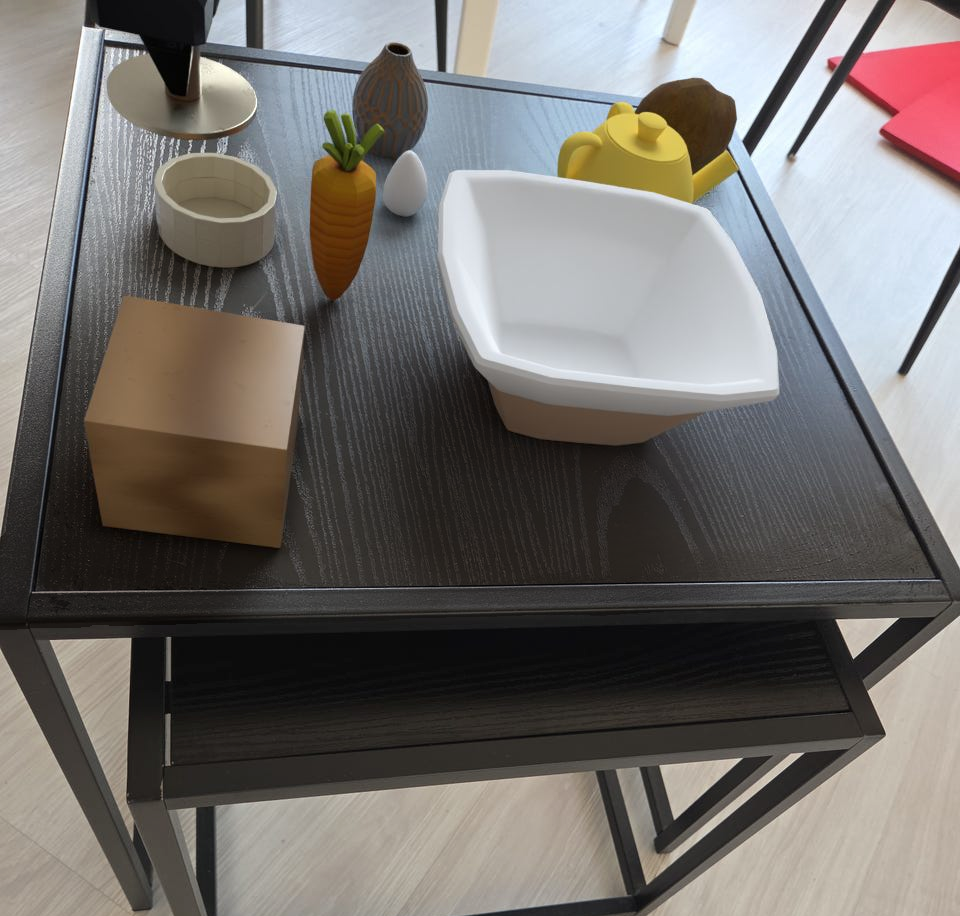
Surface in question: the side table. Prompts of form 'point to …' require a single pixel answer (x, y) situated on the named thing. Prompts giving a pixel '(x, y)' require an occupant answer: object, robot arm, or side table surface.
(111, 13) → the robot arm
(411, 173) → the egg
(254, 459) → the stand
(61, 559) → the side table surface
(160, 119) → the lid
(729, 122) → the potato
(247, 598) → the side table surface
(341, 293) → the carrot
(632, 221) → the bowl
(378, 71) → the vase
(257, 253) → the pot
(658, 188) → the teapot
